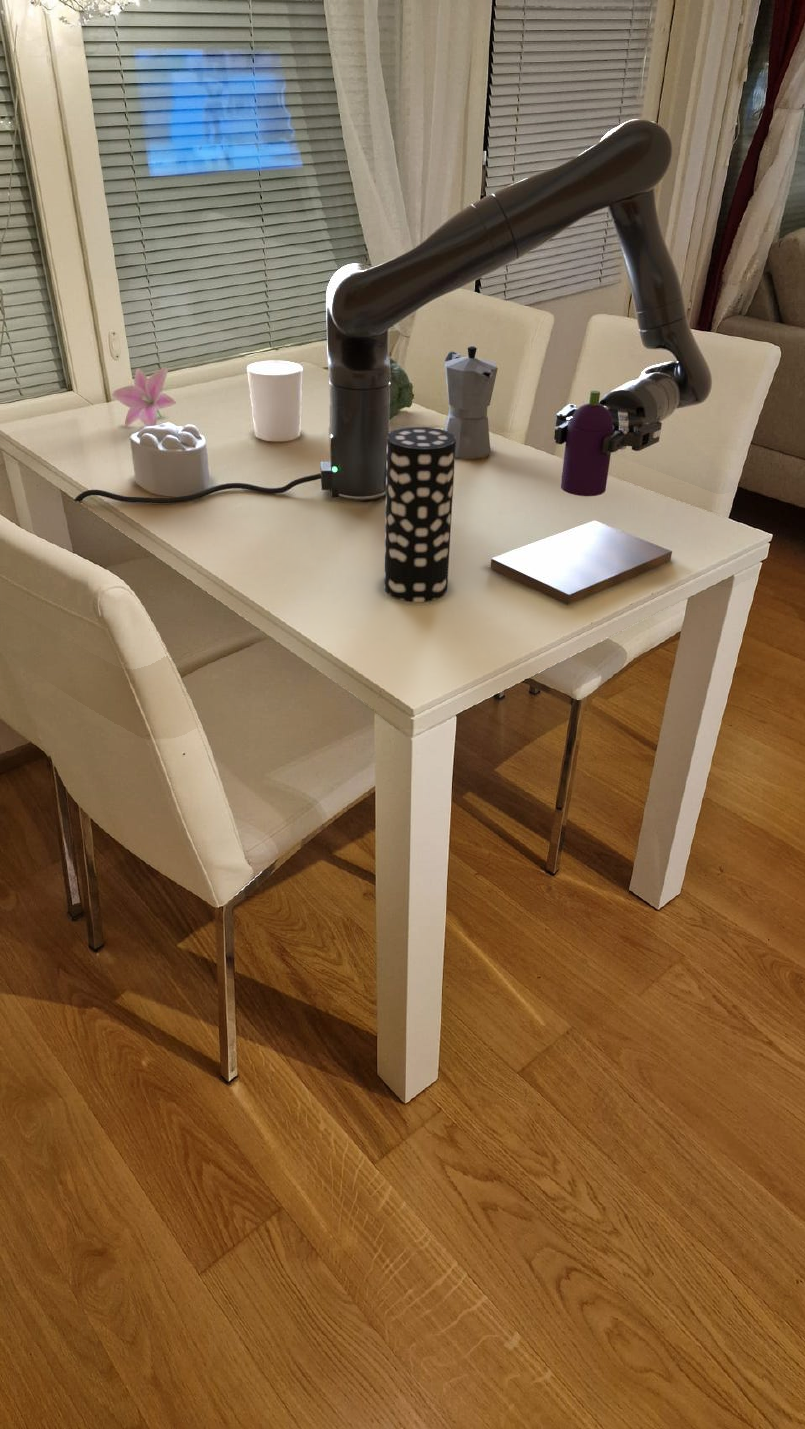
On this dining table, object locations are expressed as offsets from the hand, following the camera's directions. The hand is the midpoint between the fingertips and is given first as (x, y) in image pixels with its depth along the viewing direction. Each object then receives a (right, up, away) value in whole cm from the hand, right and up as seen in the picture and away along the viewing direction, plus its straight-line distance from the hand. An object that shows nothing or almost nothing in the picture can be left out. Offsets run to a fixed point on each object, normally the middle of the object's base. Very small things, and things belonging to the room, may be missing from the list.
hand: (582, 441), depth 126 cm
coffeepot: (-12, +12, +50) cm, 53 cm away
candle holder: (-46, +16, +54) cm, 73 cm away
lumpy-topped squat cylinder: (-60, +2, +32) cm, 68 cm away
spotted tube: (-21, -19, +3) cm, 29 cm away
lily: (-71, +19, +57) cm, 93 cm away
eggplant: (+1, -5, +6) cm, 7 cm away
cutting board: (+2, -14, +10) cm, 18 cm away
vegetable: (-27, +22, +64) cm, 73 cm away
